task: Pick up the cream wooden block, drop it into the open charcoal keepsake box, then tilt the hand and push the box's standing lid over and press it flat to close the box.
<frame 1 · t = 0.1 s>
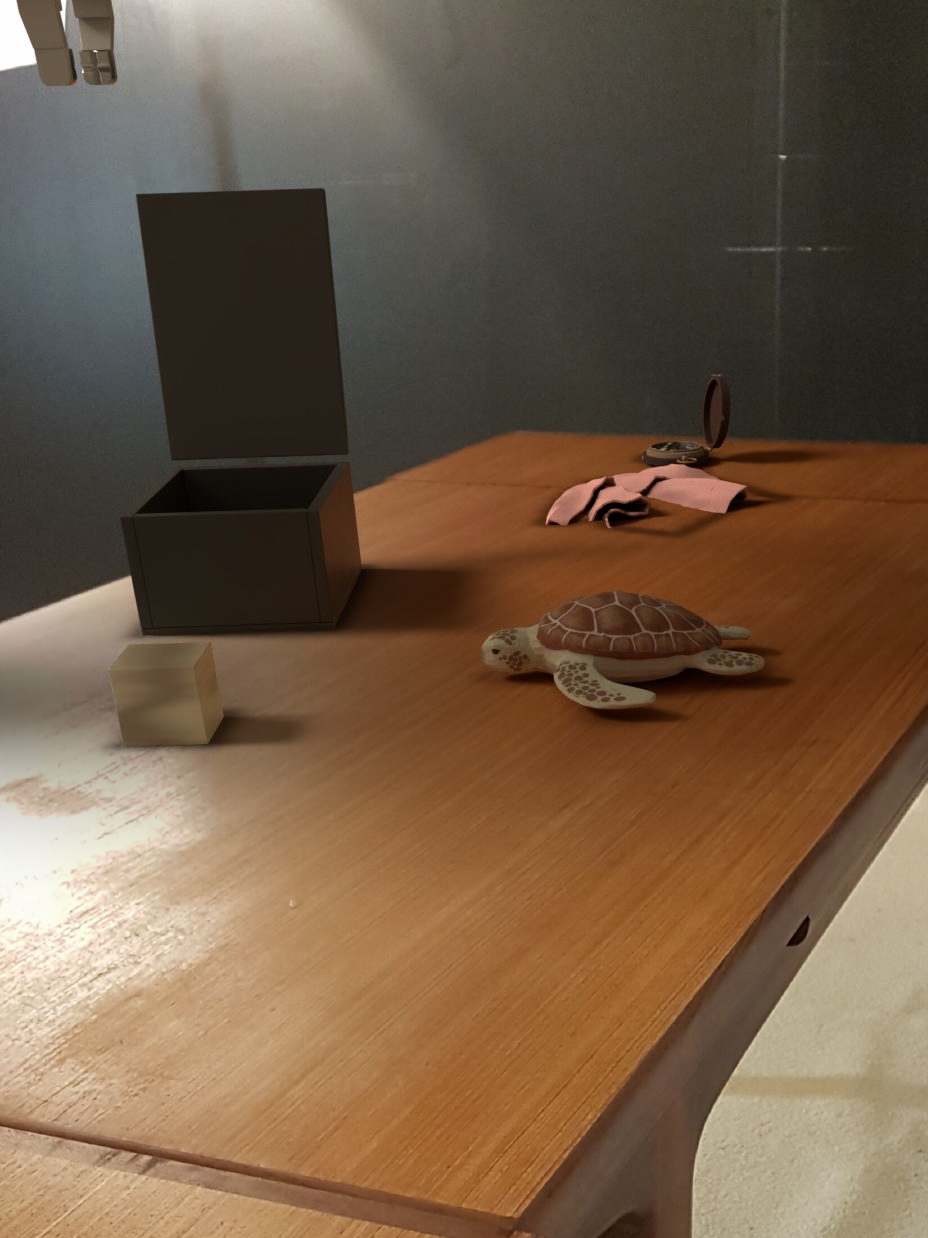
hand: (81, 85, 97), 31 cm above the table, tool pointing down, fingers open, 8 cm apart
cloth: (649, 511, 135), on the table
decorative turtle: (620, 681, 98), on the table
compass: (686, 466, 151), on the table
box lid: (245, 328, 112), point 16 cm above the table, hinge at 100.0°
keepsake box: (259, 605, 113), on the table
block: (176, 737, 91), on the table
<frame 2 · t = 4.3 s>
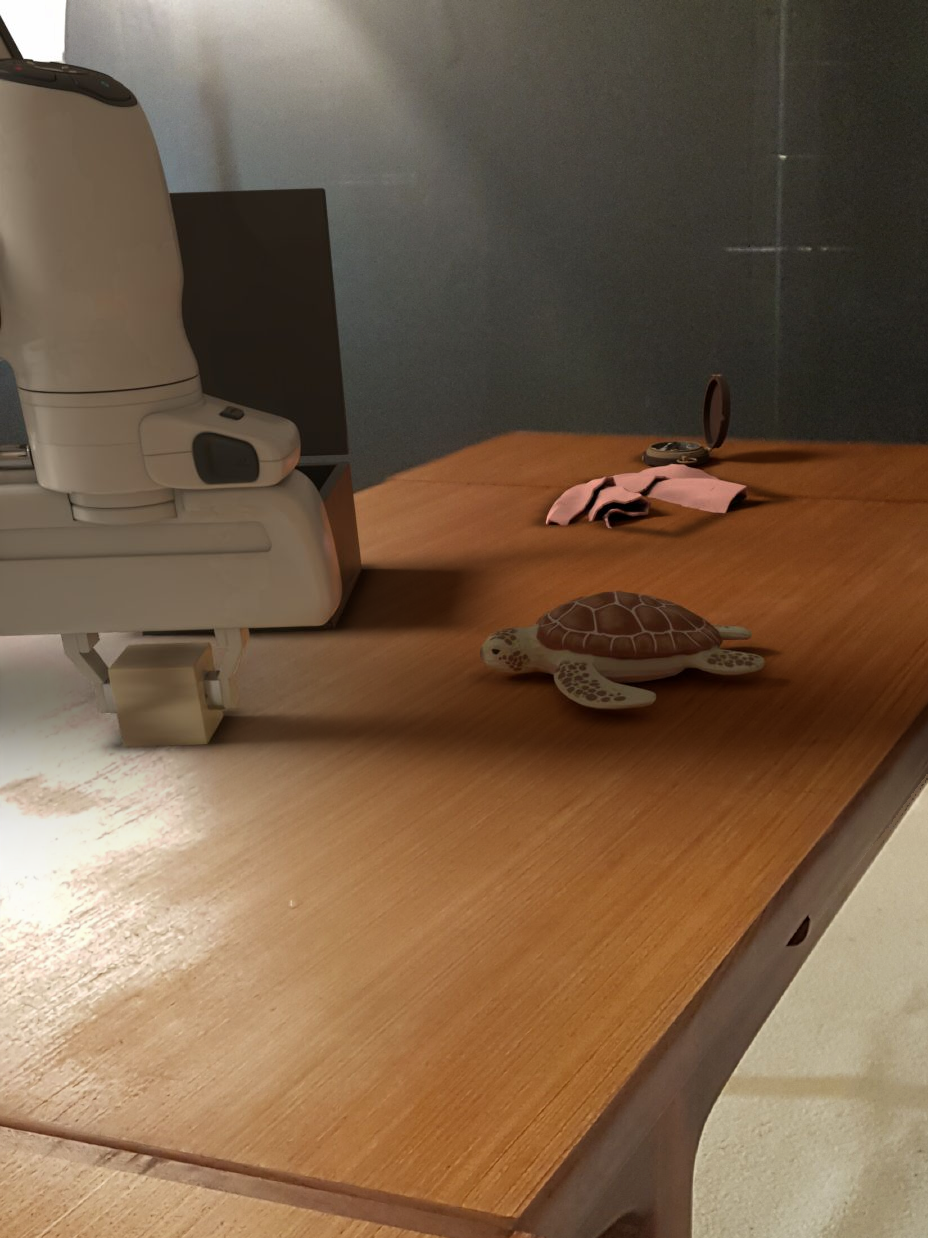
hand: (170, 708, 90), 2 cm above the table, tool pointing down, fingers closed on block, 4 cm apart
block: (175, 737, 91), on the table, touching gripper
everything else where it was.
when the fingers open (8 cm above the table, at t = 10.4 s): block drops 6 cm, resting on keepsake box.
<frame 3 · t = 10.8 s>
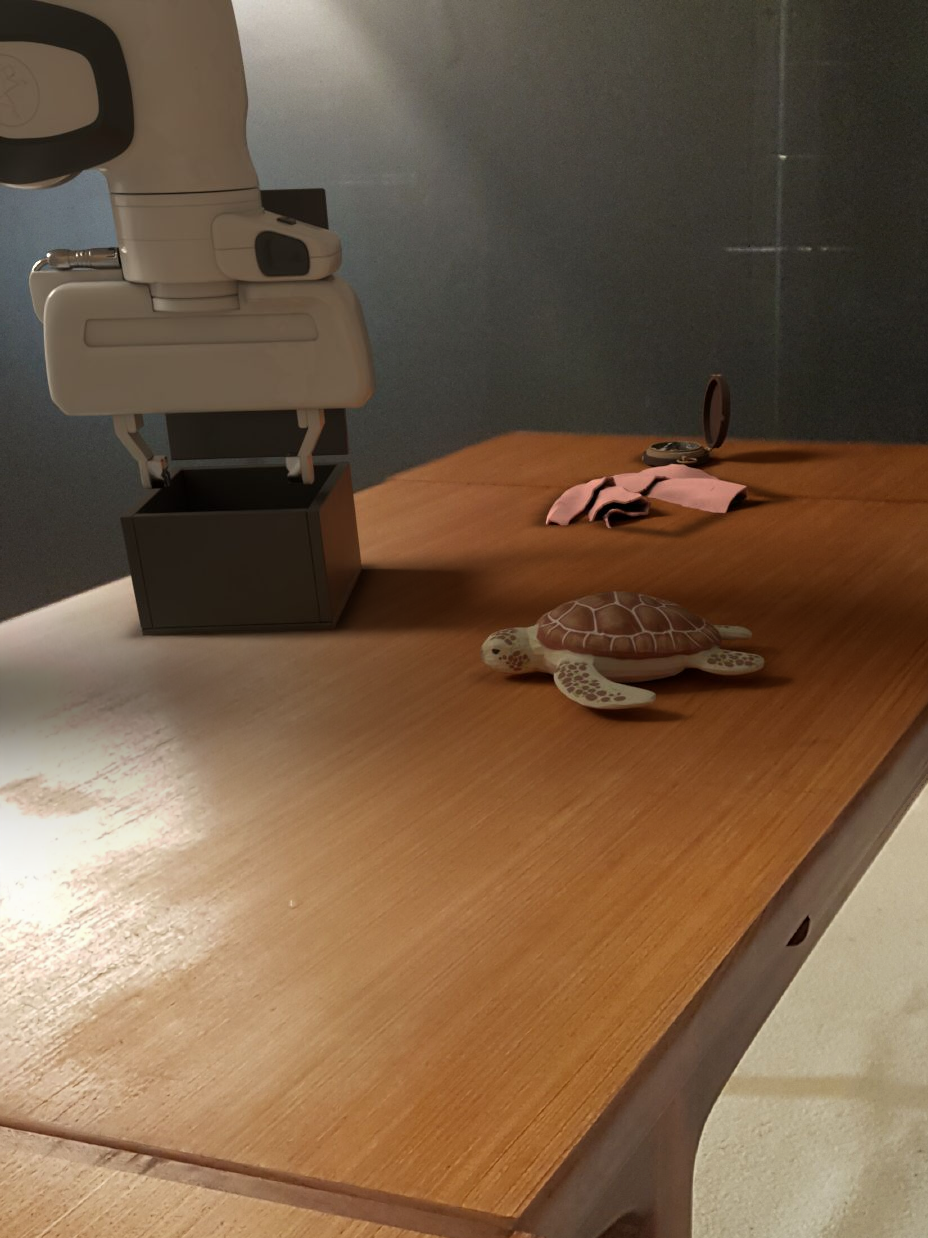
hand: (229, 485, 106), 9 cm above the table, tool pointing down, fingers open, 8 cm apart
block: (250, 605, 110), point 1 cm above the table, touching keepsake box
everything else where it was.
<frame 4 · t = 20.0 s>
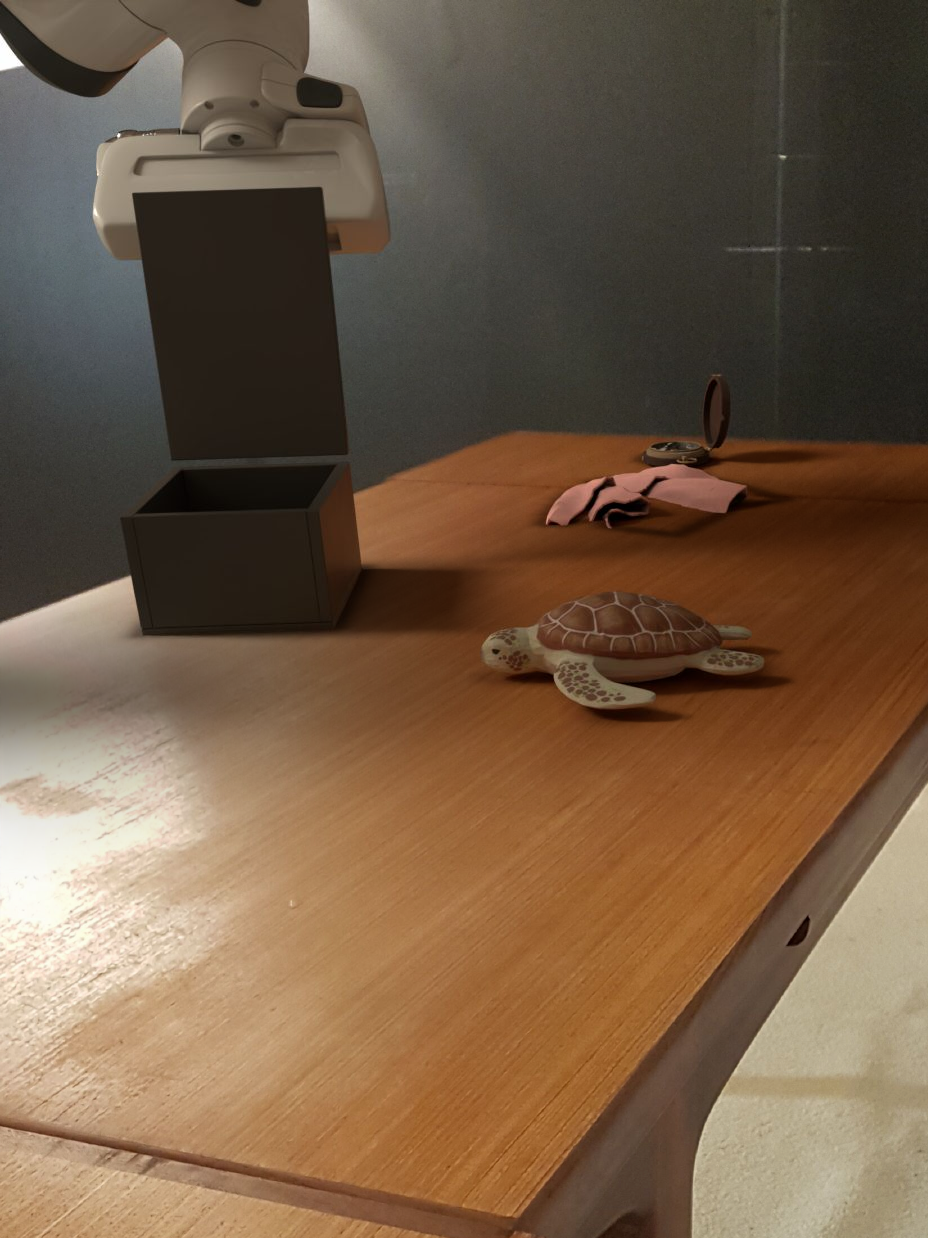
hand: (242, 299, 112), 18 cm above the table, tool tilted 45°, fingers closed, pressing on box lid
box lid: (244, 327, 112), point 16 cm above the table, hinge at 96.5°, touching gripper
everything else where it was.
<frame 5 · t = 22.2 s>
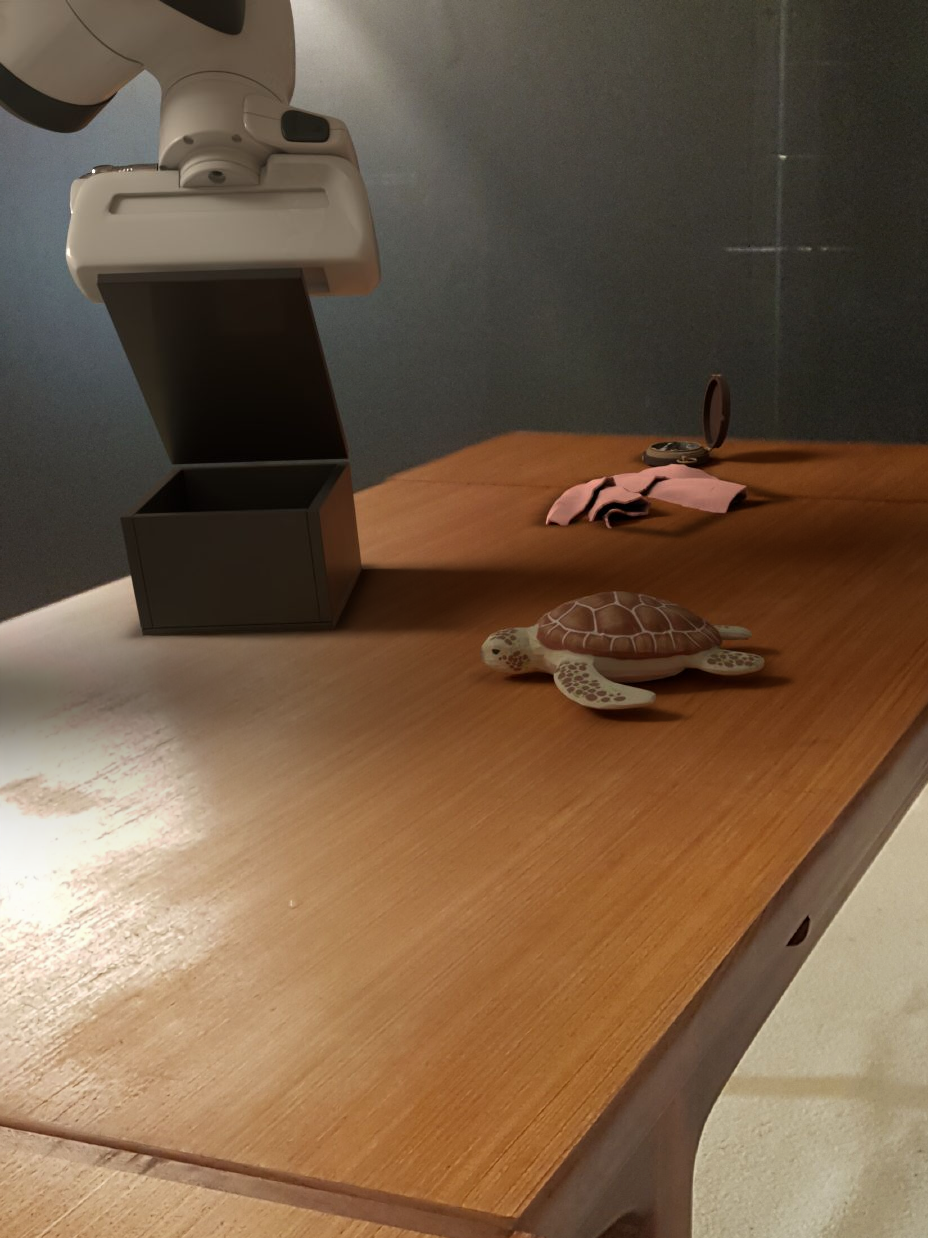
hand: (223, 345, 106), 16 cm above the table, tool tilted 45°, fingers closed, pressing on box lid
box lid: (231, 372, 108), point 15 cm above the table, hinge at 49.3°, touching gripper
everything else where it was.
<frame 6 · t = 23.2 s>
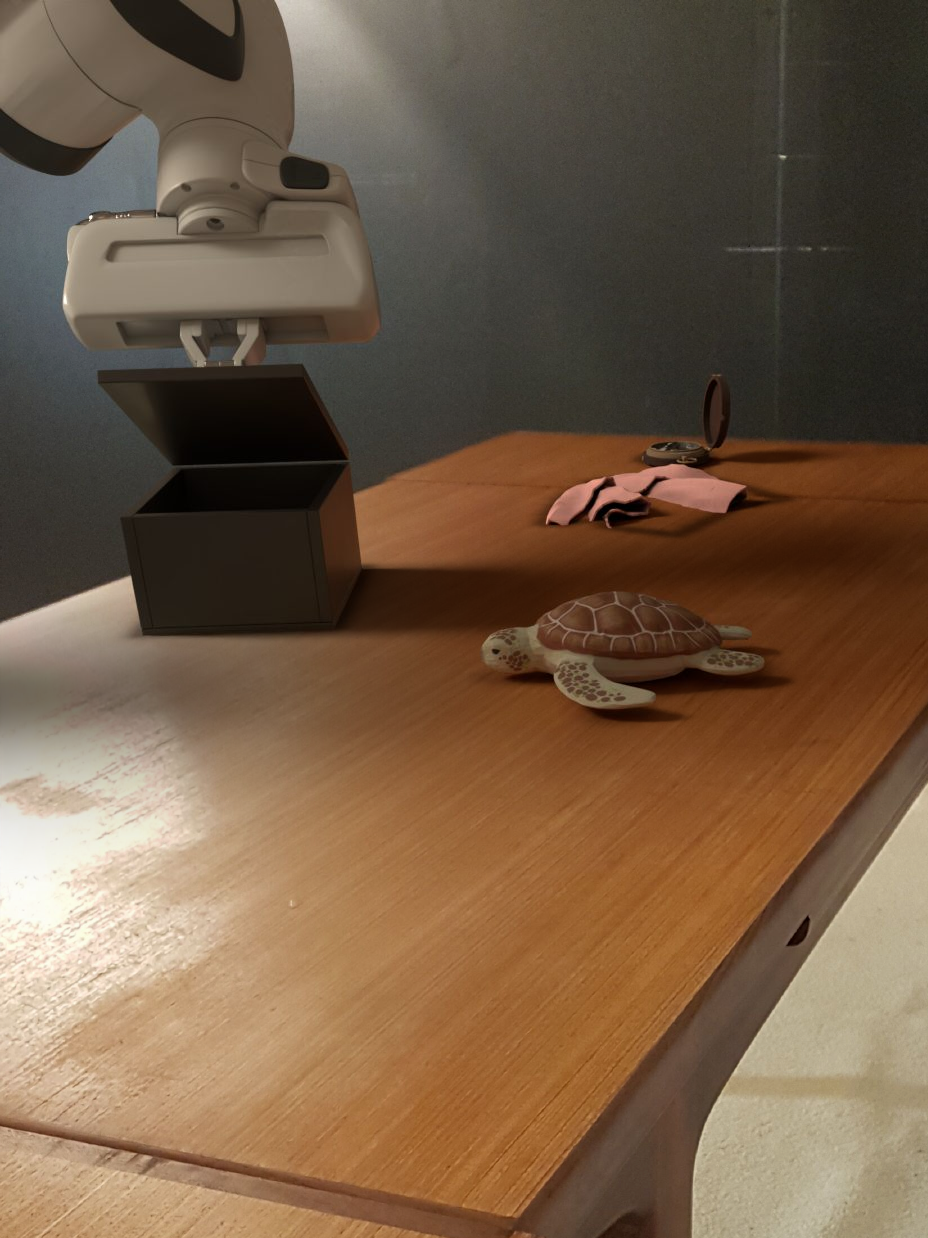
hand: (222, 394, 105), 14 cm above the table, tool tilted 45°, fingers closed
box lid: (232, 418, 107), point 12 cm above the table, hinge at 27.2°, touching gripper
everything else where it was.
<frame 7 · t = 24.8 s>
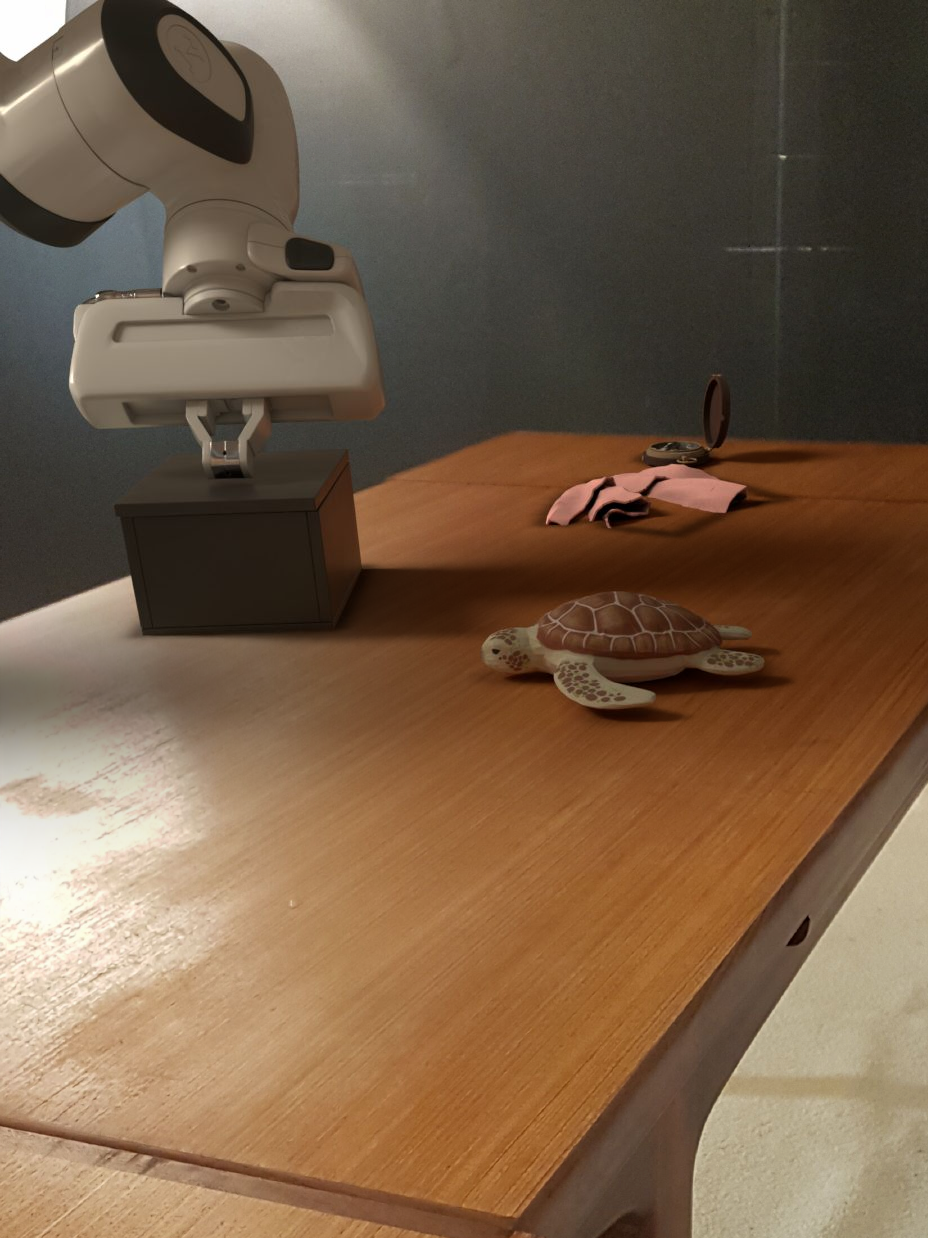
hand: (227, 473, 105), 9 cm above the table, tool tilted 45°, fingers closed, pressing on box lid
box lid: (239, 480, 109), point 8 cm above the table, hinge at 0.4°, touching gripper
everything else where it was.
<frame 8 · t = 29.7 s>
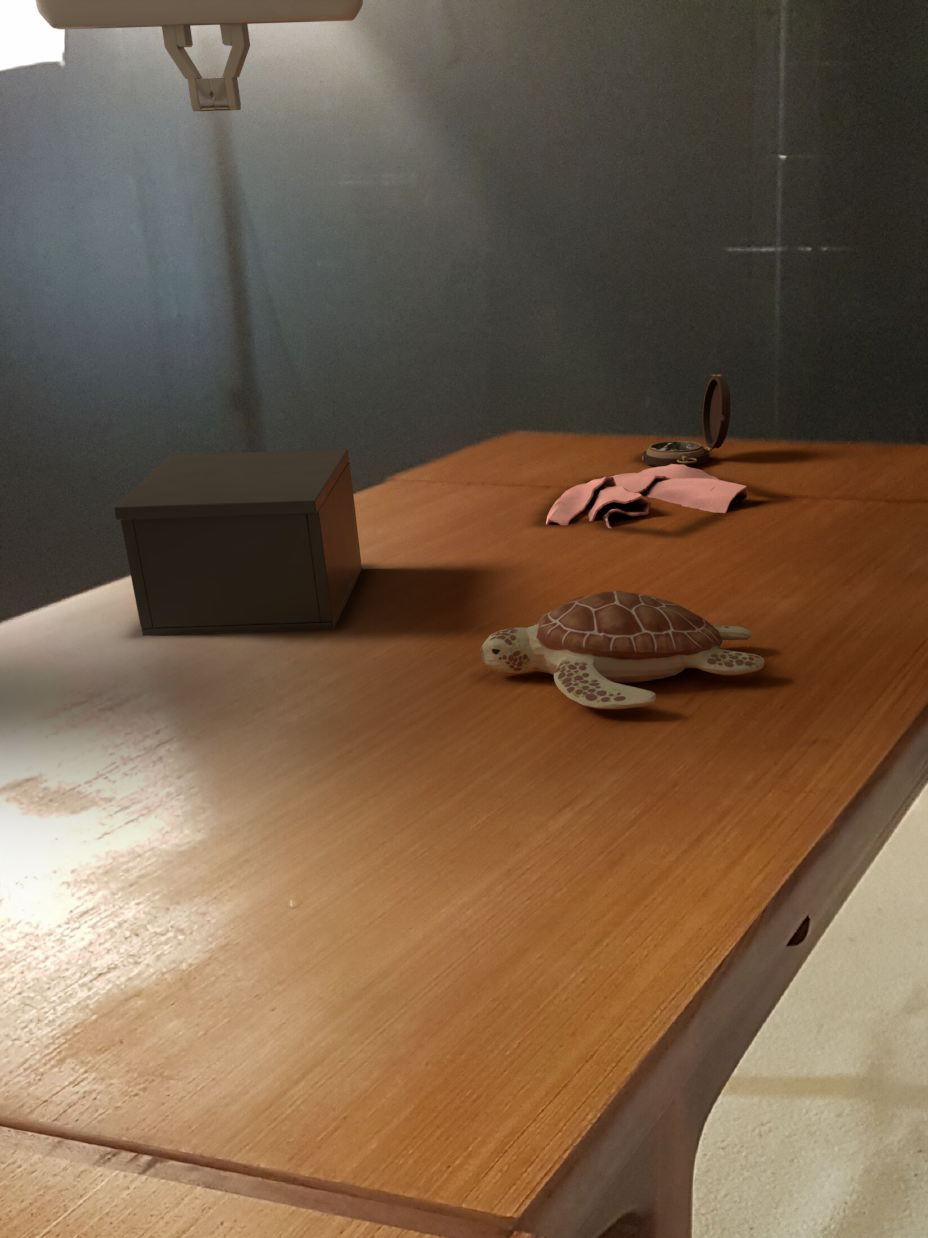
hand: (217, 110, 106), 29 cm above the table, tool pointing down, fingers closed
box lid: (239, 482, 109), point 8 cm above the table, hinge at -0.2°, touching keepsake box
everything else where it was.
at the end: block inside the target area in the keepsake box (3.1 cm from its centre), point 0.8 cm above the keepsake box's base; box lid at +0° (first picture: +100°) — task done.
